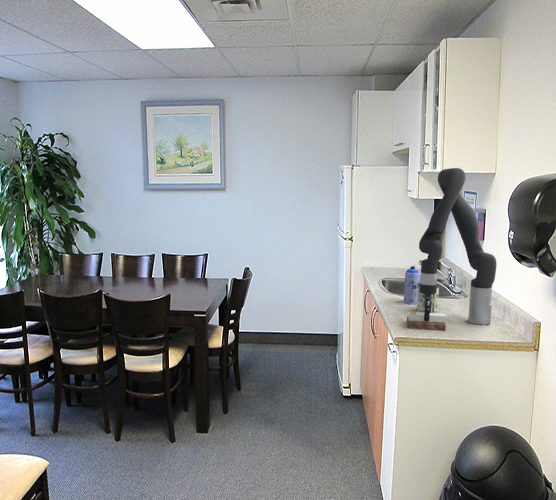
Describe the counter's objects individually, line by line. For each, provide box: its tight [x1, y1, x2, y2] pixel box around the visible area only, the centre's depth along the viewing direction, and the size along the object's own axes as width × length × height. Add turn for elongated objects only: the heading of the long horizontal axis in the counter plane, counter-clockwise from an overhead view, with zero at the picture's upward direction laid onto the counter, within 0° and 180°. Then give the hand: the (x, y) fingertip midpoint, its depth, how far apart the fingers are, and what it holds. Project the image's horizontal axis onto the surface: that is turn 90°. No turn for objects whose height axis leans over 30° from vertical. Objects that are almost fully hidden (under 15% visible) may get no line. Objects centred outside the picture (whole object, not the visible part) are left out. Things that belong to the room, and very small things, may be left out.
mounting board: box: [406, 315, 447, 332], centre depth 220 cm, size 16×10×2 cm, turn 78°
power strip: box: [407, 311, 447, 324], centre depth 219 cm, size 16×4×6 cm, turn 78°
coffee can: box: [416, 282, 440, 313], centre depth 243 cm, size 10×10×14 cm
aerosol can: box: [403, 265, 421, 306], centre depth 259 cm, size 8×8×20 cm
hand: (426, 319), depth 219 cm, fingers closed on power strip, 4 cm apart
